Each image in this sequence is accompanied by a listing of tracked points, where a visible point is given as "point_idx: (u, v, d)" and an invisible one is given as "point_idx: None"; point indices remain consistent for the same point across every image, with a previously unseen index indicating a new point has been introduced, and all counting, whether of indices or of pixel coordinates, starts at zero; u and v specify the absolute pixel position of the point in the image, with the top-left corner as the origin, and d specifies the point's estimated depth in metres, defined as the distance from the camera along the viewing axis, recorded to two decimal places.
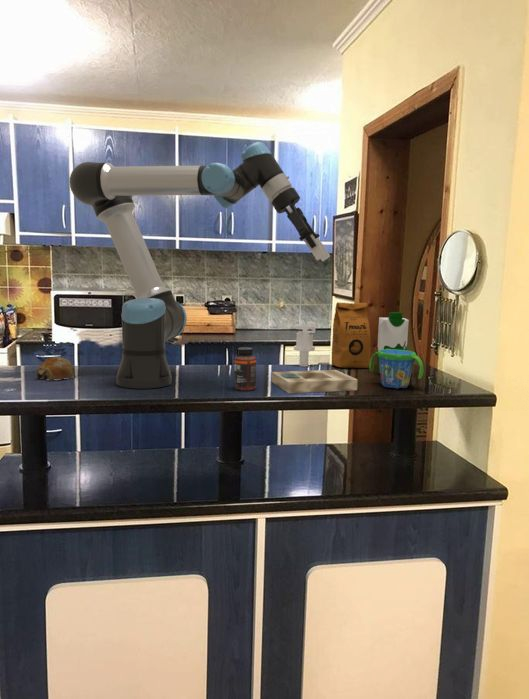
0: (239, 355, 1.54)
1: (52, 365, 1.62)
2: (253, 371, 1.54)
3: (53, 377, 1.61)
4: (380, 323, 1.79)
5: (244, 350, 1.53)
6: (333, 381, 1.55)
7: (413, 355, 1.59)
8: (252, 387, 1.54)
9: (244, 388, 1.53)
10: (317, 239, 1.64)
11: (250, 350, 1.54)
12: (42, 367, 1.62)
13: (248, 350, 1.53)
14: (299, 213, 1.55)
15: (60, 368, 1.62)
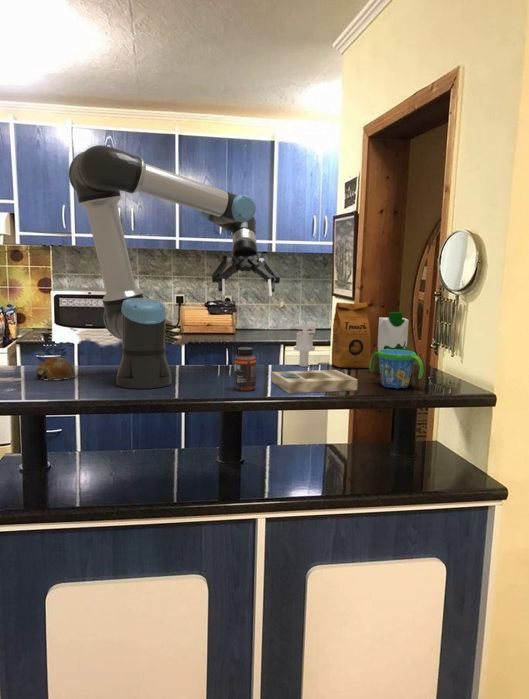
0: (239, 355, 1.54)
1: (52, 365, 1.62)
2: (253, 371, 1.54)
3: (53, 377, 1.61)
4: (380, 323, 1.79)
5: (244, 350, 1.53)
6: (333, 381, 1.55)
7: (413, 355, 1.59)
8: (252, 387, 1.54)
9: (244, 388, 1.53)
10: None
11: (250, 350, 1.54)
12: (42, 367, 1.62)
13: (248, 350, 1.53)
14: None
15: (60, 368, 1.62)
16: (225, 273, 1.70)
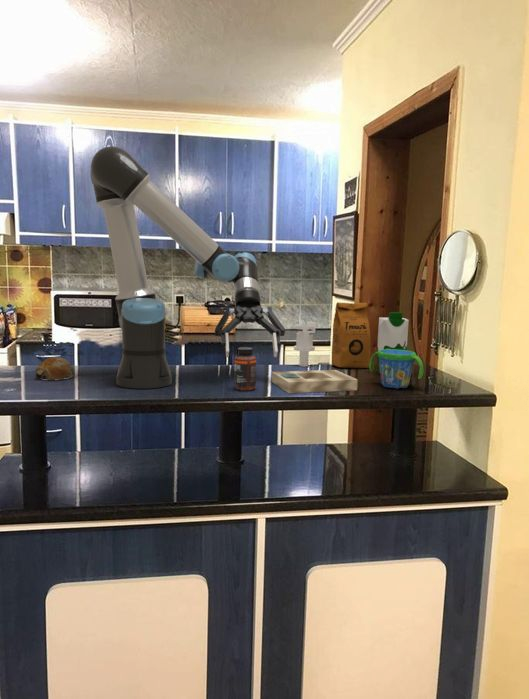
0: (239, 355, 1.54)
1: (51, 365, 1.62)
2: (253, 371, 1.54)
3: (52, 377, 1.61)
4: (380, 323, 1.79)
5: (244, 350, 1.53)
6: (333, 381, 1.55)
7: (413, 355, 1.59)
8: (252, 387, 1.54)
9: (244, 388, 1.53)
10: None
11: (250, 350, 1.54)
12: (41, 367, 1.62)
13: (248, 350, 1.53)
14: (259, 319, 1.69)
15: (59, 368, 1.62)
16: (228, 326, 1.63)
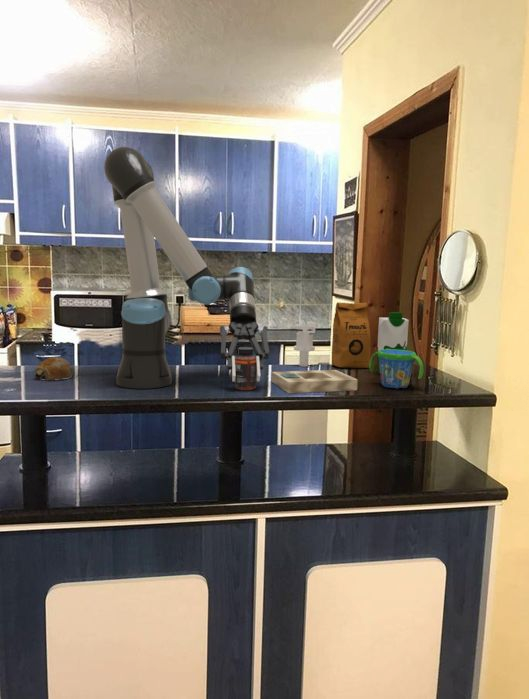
0: (239, 355, 1.54)
1: (50, 365, 1.62)
2: (253, 371, 1.54)
3: (51, 377, 1.61)
4: (380, 323, 1.79)
5: (244, 350, 1.53)
6: (333, 381, 1.55)
7: (413, 355, 1.59)
8: (252, 387, 1.54)
9: (244, 388, 1.53)
10: None
11: (250, 350, 1.54)
12: (40, 367, 1.62)
13: (248, 350, 1.53)
14: None
15: (58, 368, 1.61)
16: (232, 347, 1.56)
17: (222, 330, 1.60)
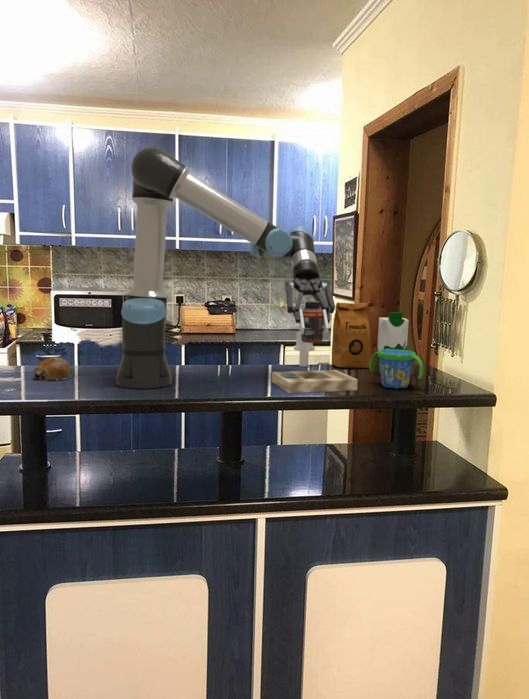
0: (307, 308, 1.57)
1: (49, 365, 1.62)
2: (321, 324, 1.57)
3: (50, 377, 1.61)
4: (380, 323, 1.79)
5: (312, 303, 1.56)
6: (333, 381, 1.55)
7: (413, 355, 1.59)
8: (320, 339, 1.58)
9: (312, 340, 1.57)
10: None
11: (318, 303, 1.57)
12: (39, 367, 1.62)
13: (316, 303, 1.56)
14: None
15: (57, 368, 1.61)
16: (299, 302, 1.60)
17: (287, 286, 1.63)
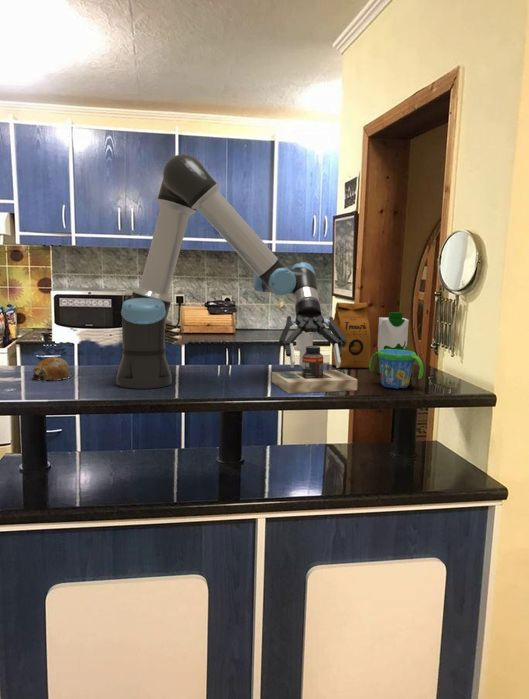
0: (308, 353, 1.59)
1: (48, 365, 1.61)
2: (321, 369, 1.60)
3: (49, 377, 1.61)
4: (380, 323, 1.79)
5: (313, 348, 1.59)
6: (333, 381, 1.55)
7: (413, 355, 1.59)
8: None
9: None
10: None
11: (318, 348, 1.59)
12: (38, 367, 1.61)
13: (316, 348, 1.59)
14: (320, 329, 1.68)
15: (56, 368, 1.61)
16: (292, 336, 1.62)
17: (288, 320, 1.66)
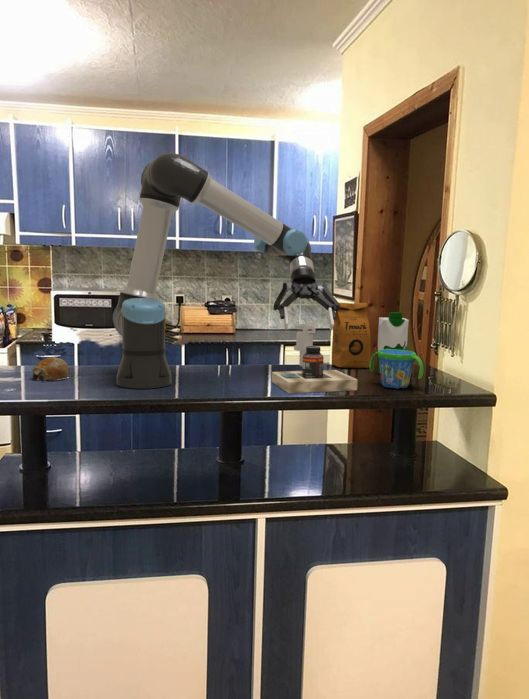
0: (308, 353, 1.59)
1: (48, 365, 1.61)
2: (321, 369, 1.60)
3: (49, 377, 1.60)
4: (380, 323, 1.79)
5: (313, 348, 1.59)
6: (333, 381, 1.55)
7: (413, 355, 1.59)
8: None
9: None
10: None
11: (318, 348, 1.59)
12: (38, 367, 1.61)
13: (317, 348, 1.59)
14: (314, 295, 1.79)
15: (56, 368, 1.61)
16: (286, 301, 1.73)
17: (284, 286, 1.76)
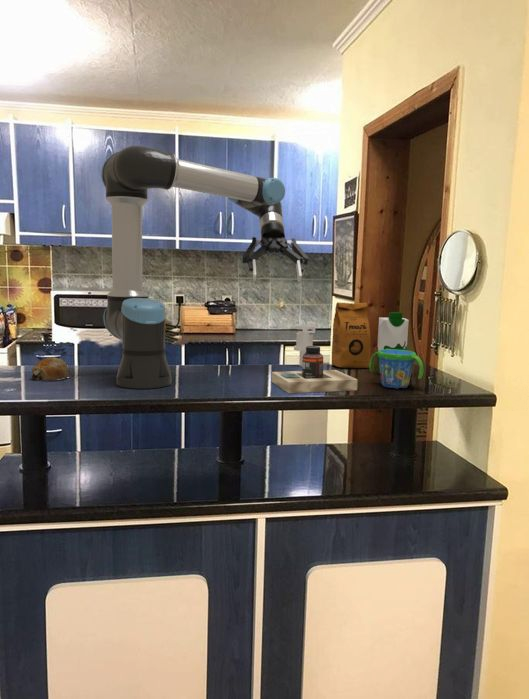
0: (308, 353, 1.59)
1: (47, 365, 1.61)
2: (321, 369, 1.60)
3: (48, 378, 1.60)
4: (380, 323, 1.79)
5: (313, 348, 1.59)
6: (333, 381, 1.55)
7: (413, 355, 1.59)
8: None
9: None
10: None
11: (318, 348, 1.59)
12: (37, 367, 1.61)
13: (316, 348, 1.59)
14: None
15: (55, 368, 1.61)
16: (255, 254, 1.74)
17: (253, 240, 1.78)
